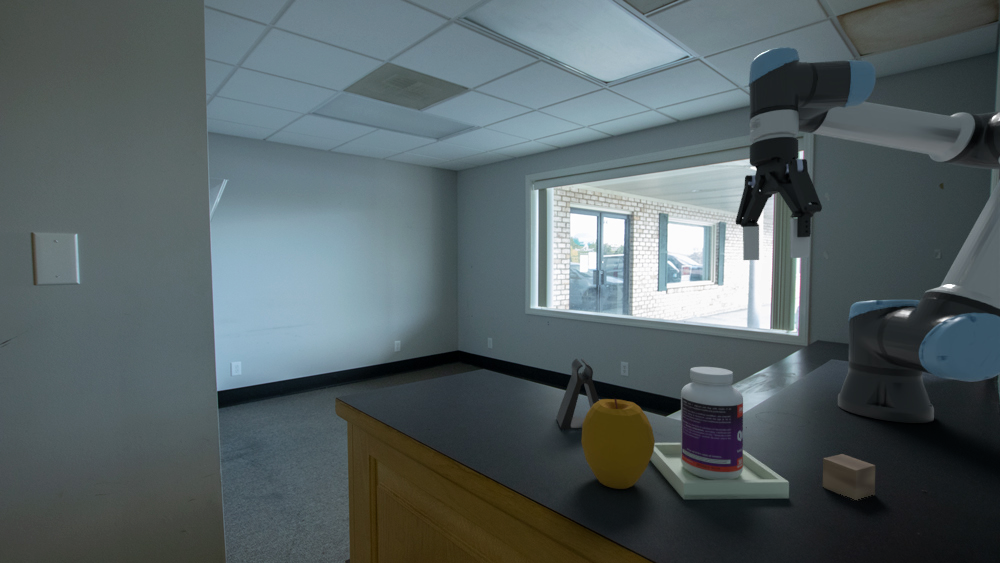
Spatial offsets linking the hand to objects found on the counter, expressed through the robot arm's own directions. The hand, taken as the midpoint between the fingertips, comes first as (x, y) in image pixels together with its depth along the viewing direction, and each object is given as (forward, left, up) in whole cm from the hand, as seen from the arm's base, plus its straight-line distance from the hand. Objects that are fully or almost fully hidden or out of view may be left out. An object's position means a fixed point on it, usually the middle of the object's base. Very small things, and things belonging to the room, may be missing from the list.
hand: (773, 259), depth 82 cm
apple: (+34, +19, -32) cm, 50 cm away
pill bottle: (+20, +17, -31) cm, 41 cm away
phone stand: (+34, -5, -32) cm, 47 cm away
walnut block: (+4, +22, -31) cm, 39 cm away
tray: (+20, +17, -31) cm, 41 cm away
